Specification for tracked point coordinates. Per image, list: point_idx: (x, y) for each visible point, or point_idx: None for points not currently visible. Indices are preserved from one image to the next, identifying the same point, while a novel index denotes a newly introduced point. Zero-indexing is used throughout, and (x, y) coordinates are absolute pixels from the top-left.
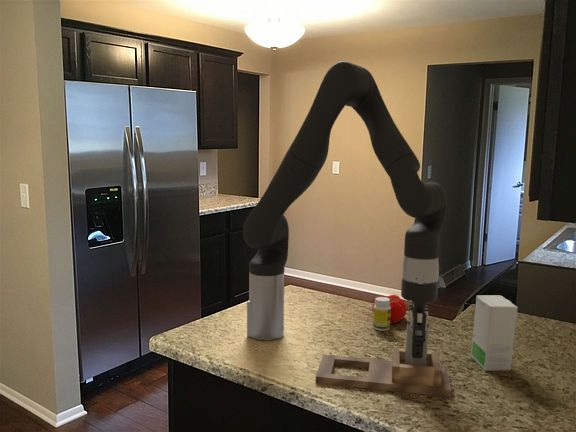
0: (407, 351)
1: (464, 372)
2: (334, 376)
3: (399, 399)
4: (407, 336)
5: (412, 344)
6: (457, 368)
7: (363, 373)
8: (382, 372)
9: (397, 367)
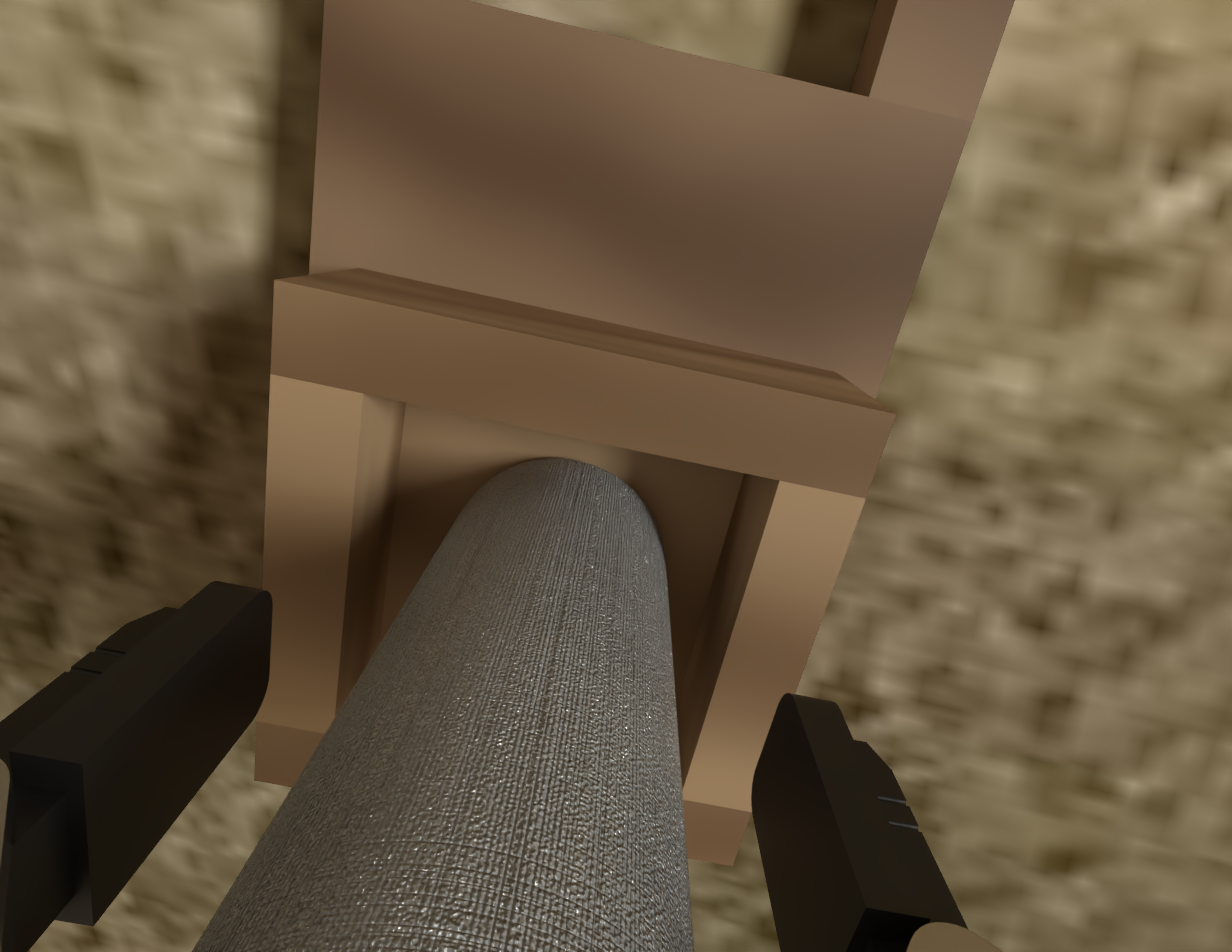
0: (460, 563)
1: (710, 878)
2: None
3: (191, 297)
4: (422, 707)
5: (74, 699)
6: None
7: (722, 10)
8: (582, 210)
9: (273, 345)
